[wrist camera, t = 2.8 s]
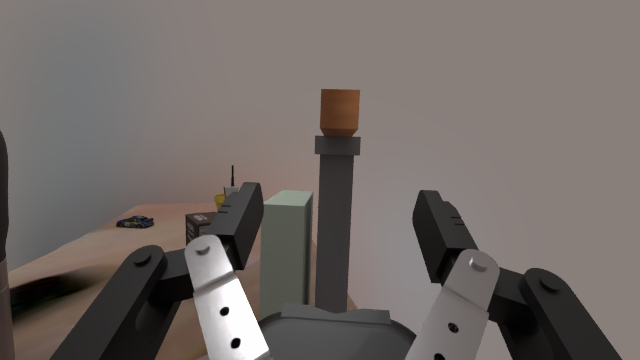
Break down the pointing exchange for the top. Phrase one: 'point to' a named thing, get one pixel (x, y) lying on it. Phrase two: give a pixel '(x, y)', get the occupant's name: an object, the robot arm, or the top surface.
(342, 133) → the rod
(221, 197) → the plant pot
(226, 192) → the vintage mobile phone
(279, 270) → the pale green tall block
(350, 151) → the tall stand
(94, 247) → the top surface
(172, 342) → the top surface
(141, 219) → the race car
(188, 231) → the coffee box
